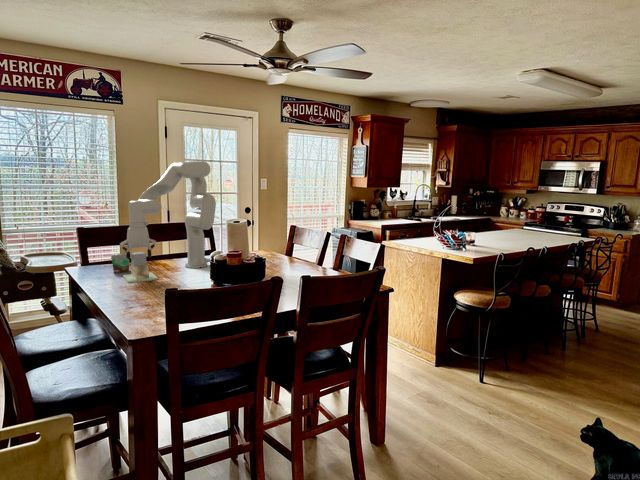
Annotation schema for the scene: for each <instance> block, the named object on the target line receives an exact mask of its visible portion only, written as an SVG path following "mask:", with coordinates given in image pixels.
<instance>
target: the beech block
mask: <svg viewBox="0 0 640 480" xmlns="http://www.w3.org/2000/svg"><path fill="white" fill-rule="evenodd" d="M130 271H131V273H130V274H131V275H132V276H133V277H134V278H135V279H145V278H149V272H150V271H149V265H148V264H147V265H145V266H135V267H134V266H133V265H132V263H131V262H130Z"/></svg>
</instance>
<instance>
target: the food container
mask: <svg viewBox="0 0 640 480" xmlns="http://www.w3.org/2000/svg"><path fill="white" fill-rule="evenodd" d="M130 258H131V254H130ZM110 260H111V263H112V270H113V274H122V273H128V272H130V260H128V258H127V257H126V251H125V250H124V252H123V253H118V254H112V255H110Z"/></svg>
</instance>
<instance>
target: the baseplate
mask: <svg viewBox="0 0 640 480" xmlns="http://www.w3.org/2000/svg"><path fill="white" fill-rule="evenodd" d="M122 278H123V279H124V280H125V281H126V283H128V284H131V283H137V282H146V281H155V280H158V277H157V275H155V274H154V273H153V272H151V271H149V278H145V279H135V278H134V277H133V276H132V275H131V273H130V274H123V275H122Z"/></svg>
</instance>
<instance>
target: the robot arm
mask: <svg viewBox="0 0 640 480" xmlns="http://www.w3.org/2000/svg"><path fill="white" fill-rule="evenodd" d="M211 171H212V169H211V166H210V164H209V163H208V162H206V161H201V160H200V161H196V160H195V161H194V160H192V161H179V162H178V161H175V162H172V163H171V164H170V165H169V166H168V168H167V169H166V171H165V172H164V173H163V174H162V176H161V177H160V179H159V180H158V181H156V182H155V183H154V184H152V185H151V186H150V187H148V188H147V189H145V191H143V192H142V194H141V195H140V196H139V197H138V199H137V200H130V201H129V202H128V205H127V206H128V221H129V222H128V224H129V227H128V228H127V230H126V231H127V233H126V239H125V240H124V241H121V242H120V243H119V246H120V247H121V249H122V250H124V252H125V251H126V257H127V258H128V260H129V261H130V260H131V257H130V255H131V249H135V248H137V249H138V248H139V249H140V248H147V250H146V251H147V254H146V255H147V258H149V259H151V257H152V250H153V248H155V247H156V243H157V240H155V239H151V238H150V235H149V231H148V227H147V226H149V225H150V224H149V222H147V221H146V215H156V214H159V213H160V212H161V210H162V204H161V203H160V201H158V200H157V199H158V198H160V197H162V196H165V195H167V194H169V193H171V192H173V191H174V190H175V188H176V186H178V184H179V182H180V181H182V179H189V180H190V183H191V184H190V185H191V187H190V195H189V196H190V197H189V207H191V209H193V210H198V211H190V212H188V213H187V214H186V215H185V217H184V225H185V228H186V229H185V230H186V242H187V243H186V244H187V248H186V251H187V263H185V264H184V267H185V268H189V269H201V268H200V267H202V268H205V267H208V263H211V262H210V259H211V258H207V257H205V233H204V230H206V231H207V230H210V229H211V228H212V227H213V225H214V222H215V215H216V208H217V207H216V206H217V201H216V199H215V197H214V195H213V194H210V193H207V190H208V184H207V181H206V177H207V176H209V174H210V173H211ZM150 243H152V244H151V245H150ZM126 244H127V245H126ZM125 245H126V246H127V247H125Z"/></svg>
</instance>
